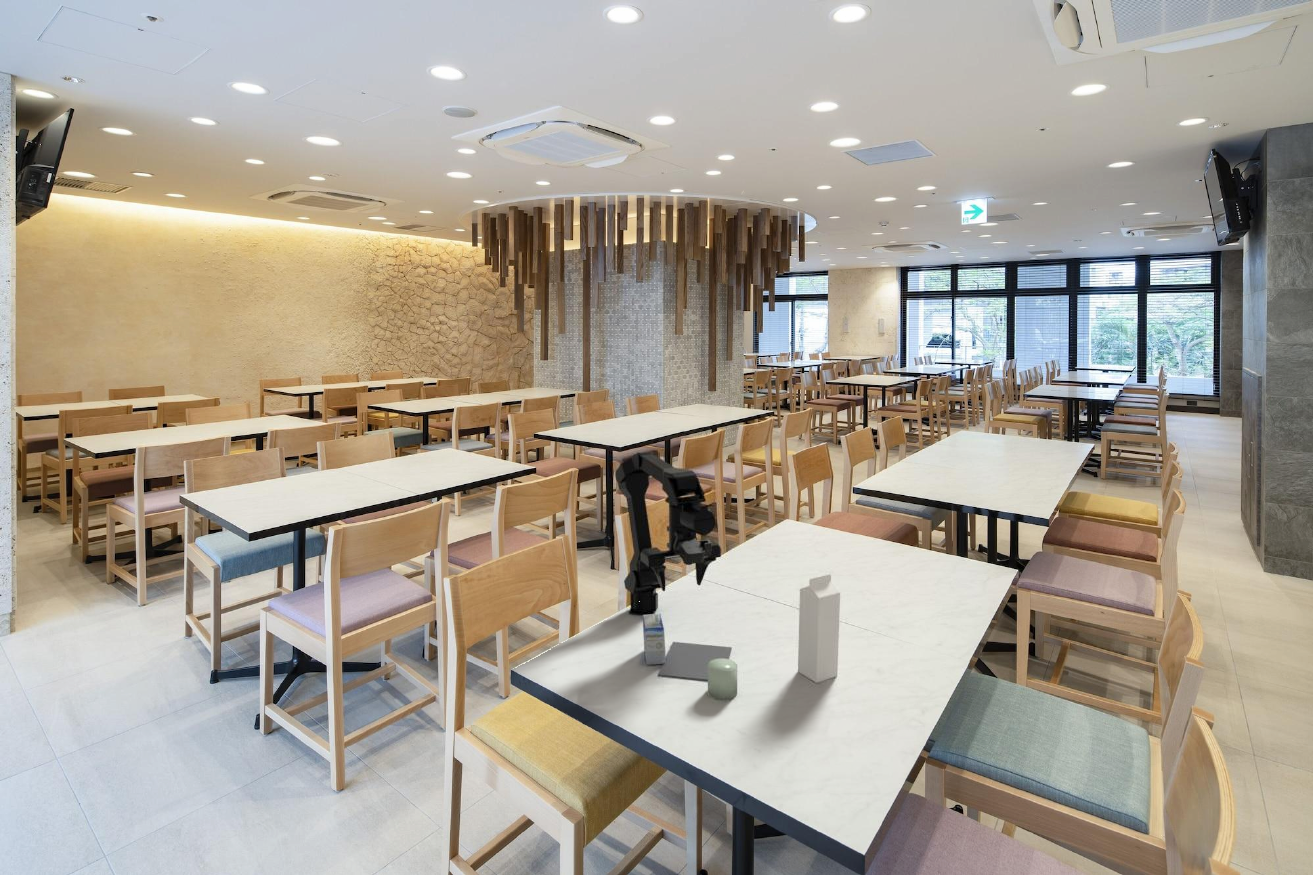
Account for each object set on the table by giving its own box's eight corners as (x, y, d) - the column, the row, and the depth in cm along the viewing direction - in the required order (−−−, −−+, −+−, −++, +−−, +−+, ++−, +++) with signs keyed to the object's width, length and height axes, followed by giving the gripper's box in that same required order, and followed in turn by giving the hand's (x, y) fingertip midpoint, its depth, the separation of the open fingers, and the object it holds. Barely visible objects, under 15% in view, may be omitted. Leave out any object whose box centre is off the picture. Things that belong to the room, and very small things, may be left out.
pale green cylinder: (705, 698, 139) (705, 670, 138) (710, 683, 145) (710, 657, 144) (735, 702, 138) (735, 674, 137) (738, 686, 144) (738, 660, 143)
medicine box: (644, 649, 161) (641, 614, 159) (663, 648, 161) (661, 612, 160) (646, 665, 153) (644, 628, 152) (666, 663, 153) (664, 626, 152)
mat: (657, 675, 149) (657, 674, 149) (672, 642, 164) (672, 641, 164) (722, 682, 146) (722, 681, 146) (731, 648, 161) (731, 647, 161)
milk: (837, 676, 148) (841, 578, 144) (816, 683, 145) (819, 583, 141) (817, 664, 153) (821, 569, 150) (796, 671, 150) (800, 574, 147)
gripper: (657, 538, 151) (658, 606, 153) (733, 528, 158) (732, 593, 160) (639, 525, 161) (640, 589, 163) (710, 516, 168) (710, 577, 170)
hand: (681, 587), depth 164 cm, fingers open, 9 cm apart
